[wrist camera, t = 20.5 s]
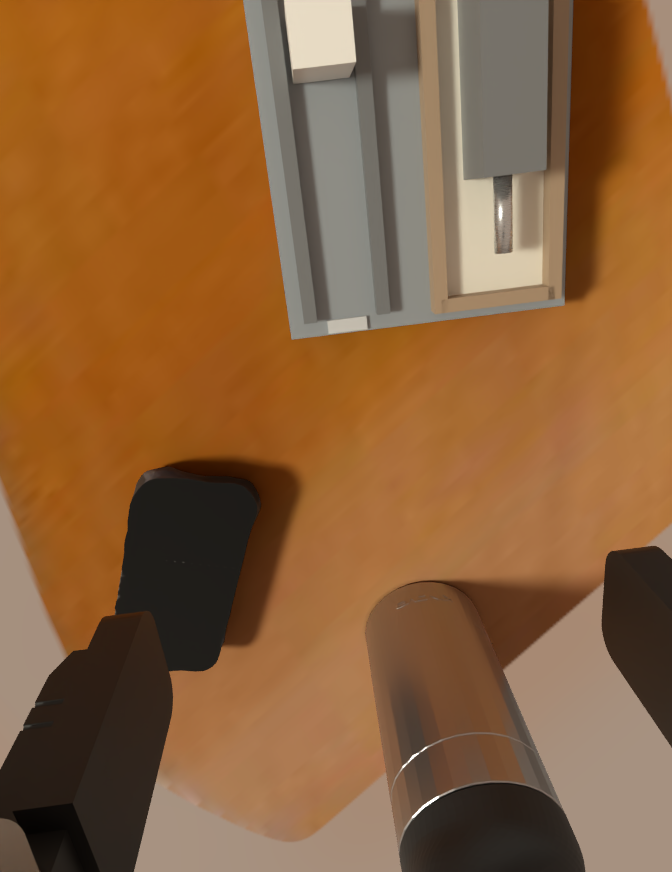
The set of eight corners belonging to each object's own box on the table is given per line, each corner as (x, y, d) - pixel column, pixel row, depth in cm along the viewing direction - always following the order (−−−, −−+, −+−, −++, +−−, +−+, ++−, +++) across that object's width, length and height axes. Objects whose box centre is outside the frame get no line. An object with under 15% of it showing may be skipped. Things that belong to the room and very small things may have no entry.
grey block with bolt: (519, 246, 36) (545, 251, 32) (466, 252, 36) (485, 259, 32) (518, -19, 31) (549, -48, 27) (456, -11, 31) (478, -39, 27)
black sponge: (146, 447, 42) (133, 470, 38) (267, 473, 43) (264, 498, 39) (115, 633, 47) (100, 667, 44) (221, 651, 48) (215, 686, 45)
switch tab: (349, 77, 32) (356, 61, 28) (293, 84, 32) (292, 69, 28) (343, 10, 31) (349, -15, 27) (285, 17, 31) (283, -8, 27)
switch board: (551, 300, 39) (572, 308, 36) (292, 332, 39) (291, 344, 36) (559, -60, 32) (586, -86, 29) (241, -22, 32) (235, -45, 29)
